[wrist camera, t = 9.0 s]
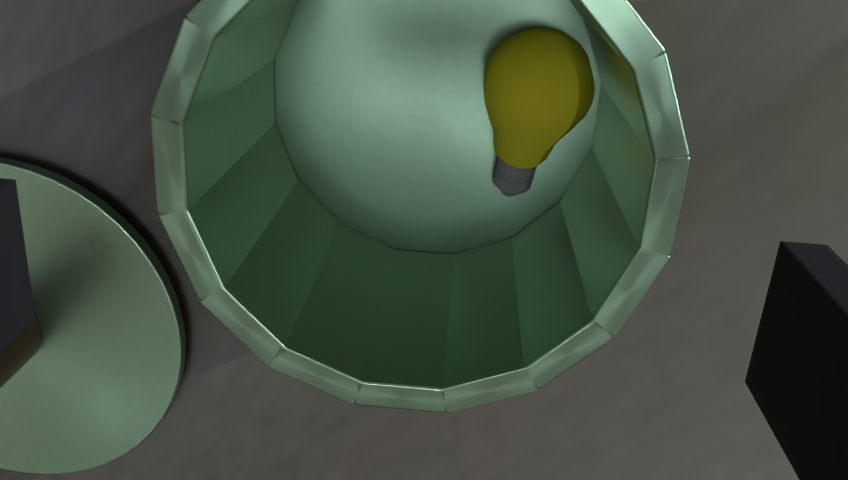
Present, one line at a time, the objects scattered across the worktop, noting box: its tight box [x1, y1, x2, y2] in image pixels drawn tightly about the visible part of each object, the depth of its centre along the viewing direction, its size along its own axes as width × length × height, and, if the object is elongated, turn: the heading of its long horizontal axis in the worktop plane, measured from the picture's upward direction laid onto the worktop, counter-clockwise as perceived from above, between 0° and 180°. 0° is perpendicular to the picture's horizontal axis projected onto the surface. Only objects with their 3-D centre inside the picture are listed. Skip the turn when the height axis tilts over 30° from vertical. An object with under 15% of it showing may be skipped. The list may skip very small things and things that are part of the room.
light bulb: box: [483, 28, 595, 197], centre depth 26 cm, size 3×6×4 cm
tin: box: [151, 0, 690, 413], centre depth 23 cm, size 13×13×10 cm
